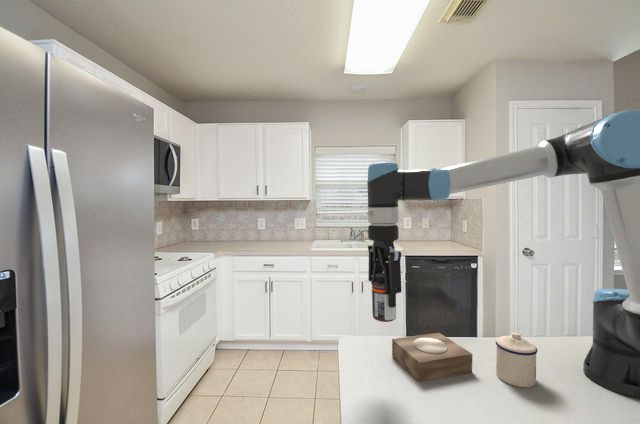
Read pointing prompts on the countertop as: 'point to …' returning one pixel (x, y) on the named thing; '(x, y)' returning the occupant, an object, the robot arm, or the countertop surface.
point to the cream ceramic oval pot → (516, 360)
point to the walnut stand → (431, 356)
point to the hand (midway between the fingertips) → (384, 314)
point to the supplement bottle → (379, 298)
